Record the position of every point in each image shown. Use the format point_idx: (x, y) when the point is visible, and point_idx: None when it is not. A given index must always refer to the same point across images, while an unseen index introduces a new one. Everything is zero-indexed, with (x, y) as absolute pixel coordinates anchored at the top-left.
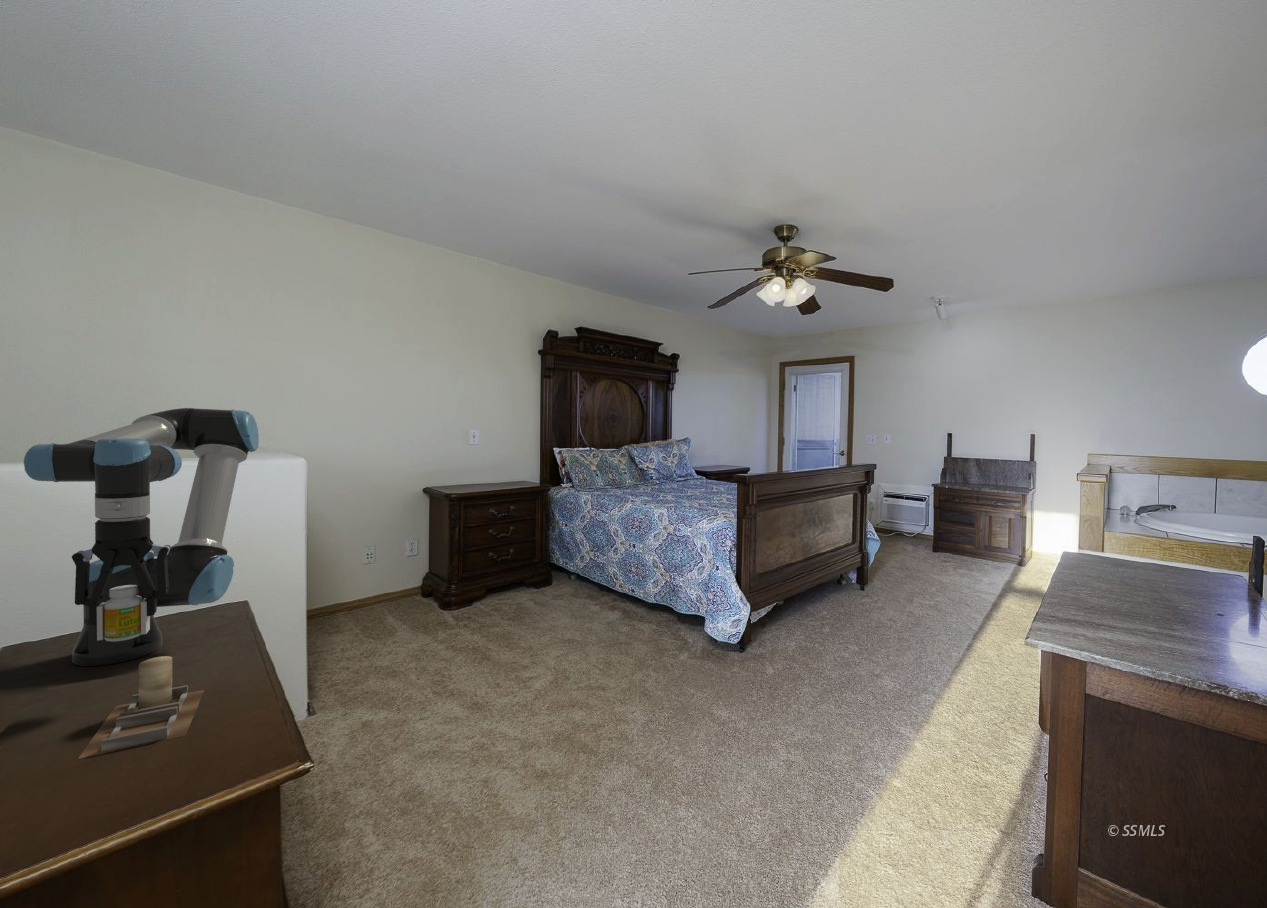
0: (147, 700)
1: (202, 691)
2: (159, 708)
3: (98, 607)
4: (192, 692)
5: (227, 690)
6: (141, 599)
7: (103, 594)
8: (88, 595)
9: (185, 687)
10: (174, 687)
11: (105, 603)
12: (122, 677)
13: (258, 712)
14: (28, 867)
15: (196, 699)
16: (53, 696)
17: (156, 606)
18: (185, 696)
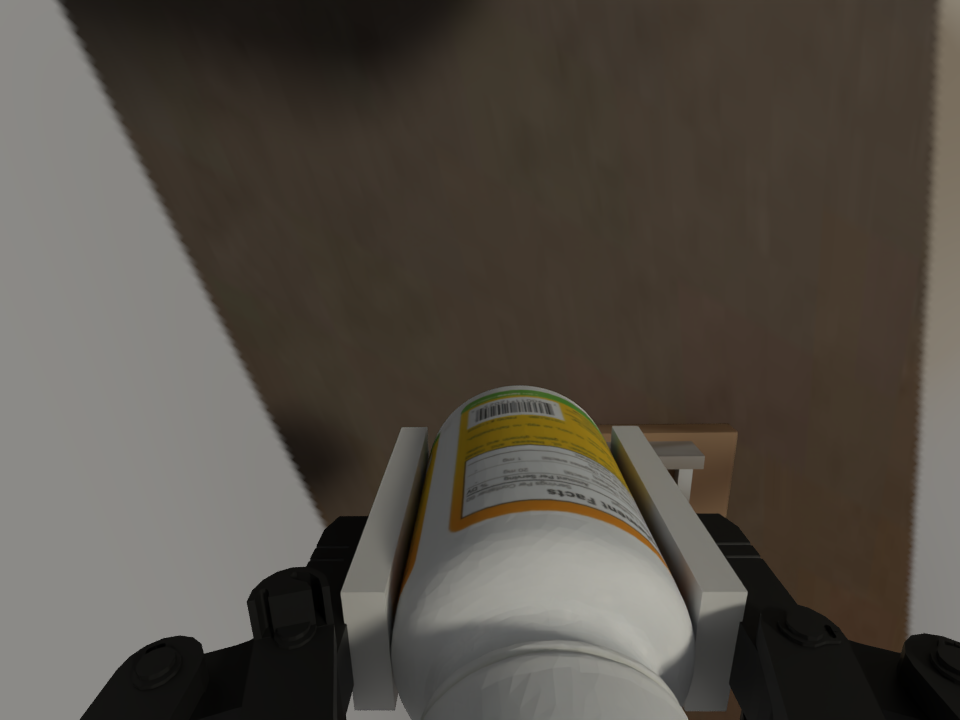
0: None
1: (732, 443)
2: None
3: (369, 708)
4: (704, 436)
5: (792, 413)
6: (691, 680)
7: (335, 709)
8: (183, 706)
9: (697, 468)
10: (666, 458)
11: (406, 709)
12: (435, 88)
13: (856, 600)
14: None
15: (717, 495)
16: (262, 184)
17: (757, 560)
18: (690, 482)
